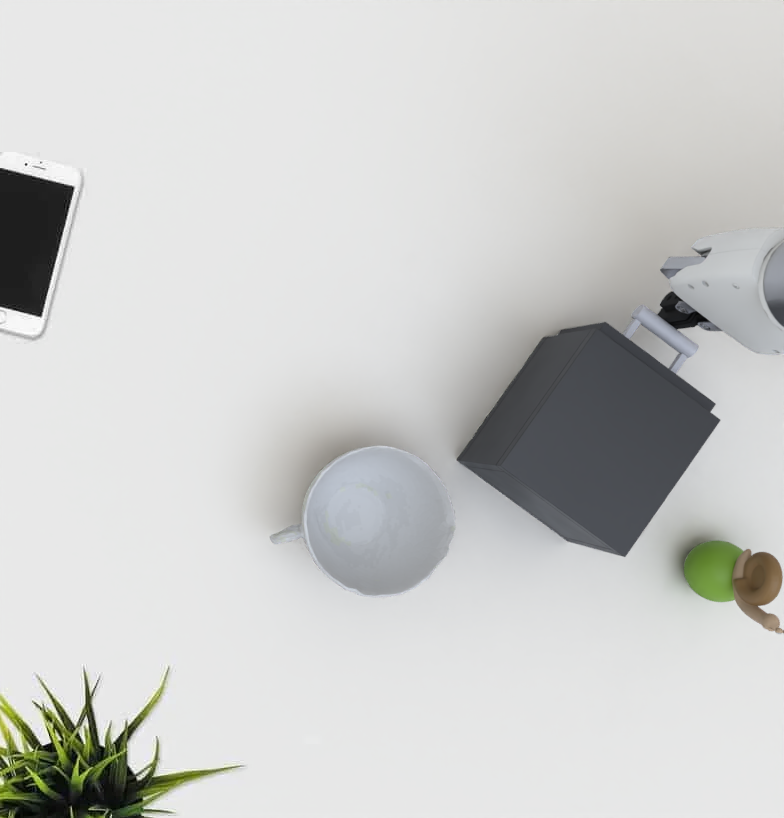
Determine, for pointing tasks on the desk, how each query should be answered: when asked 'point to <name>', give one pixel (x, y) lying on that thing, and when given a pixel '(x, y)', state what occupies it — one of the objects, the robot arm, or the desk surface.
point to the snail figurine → (736, 578)
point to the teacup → (375, 521)
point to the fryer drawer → (664, 333)
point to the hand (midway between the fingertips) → (671, 310)
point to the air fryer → (589, 440)
